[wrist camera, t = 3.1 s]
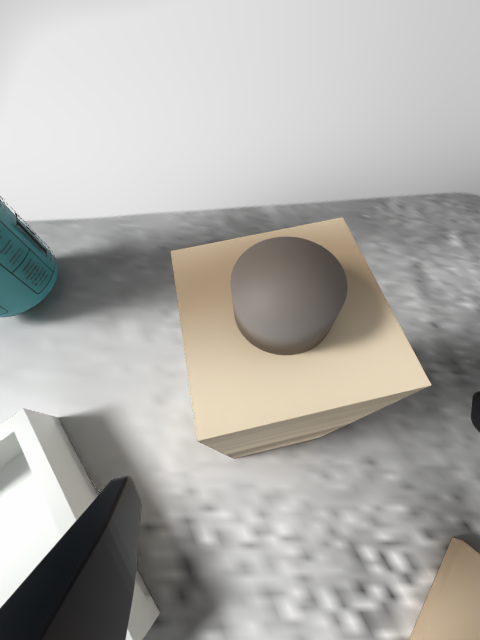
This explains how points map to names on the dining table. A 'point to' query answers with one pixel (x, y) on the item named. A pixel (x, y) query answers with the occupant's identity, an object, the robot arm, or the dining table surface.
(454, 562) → the cork coaster
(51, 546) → the tray
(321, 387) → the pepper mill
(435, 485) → the dining table surface
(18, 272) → the beverage bottle
